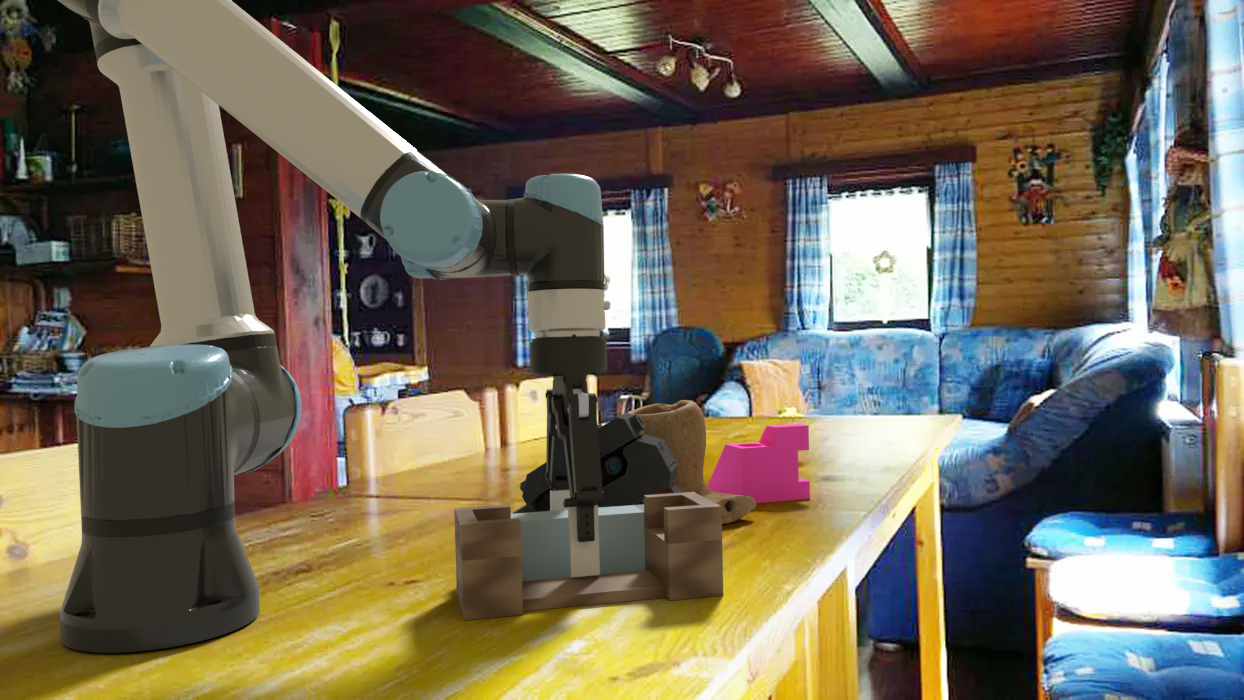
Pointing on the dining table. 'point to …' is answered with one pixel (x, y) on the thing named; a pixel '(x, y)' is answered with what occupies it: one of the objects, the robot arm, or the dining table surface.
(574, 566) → the robot arm
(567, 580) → the posts
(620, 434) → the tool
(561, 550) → the rail
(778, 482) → the bracket
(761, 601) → the dining table surface
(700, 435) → the brown boot
